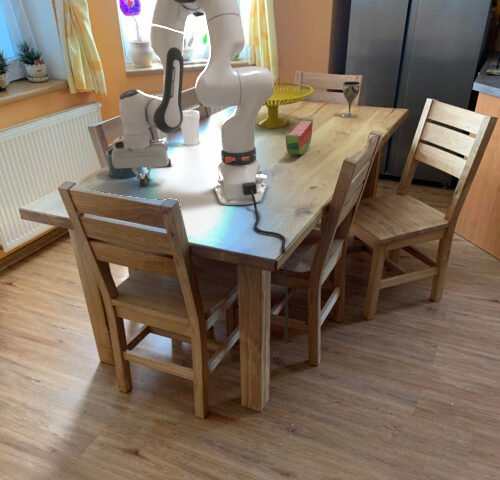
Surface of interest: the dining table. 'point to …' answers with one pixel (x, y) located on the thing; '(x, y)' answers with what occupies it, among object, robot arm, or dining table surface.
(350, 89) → the wine glass
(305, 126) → the fruit slice
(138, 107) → the robot arm
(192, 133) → the foam cup
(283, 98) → the cake stand
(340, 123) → the dining table surface
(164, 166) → the two-tone pronged bar
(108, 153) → the blue-grey round hollow container
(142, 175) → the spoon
